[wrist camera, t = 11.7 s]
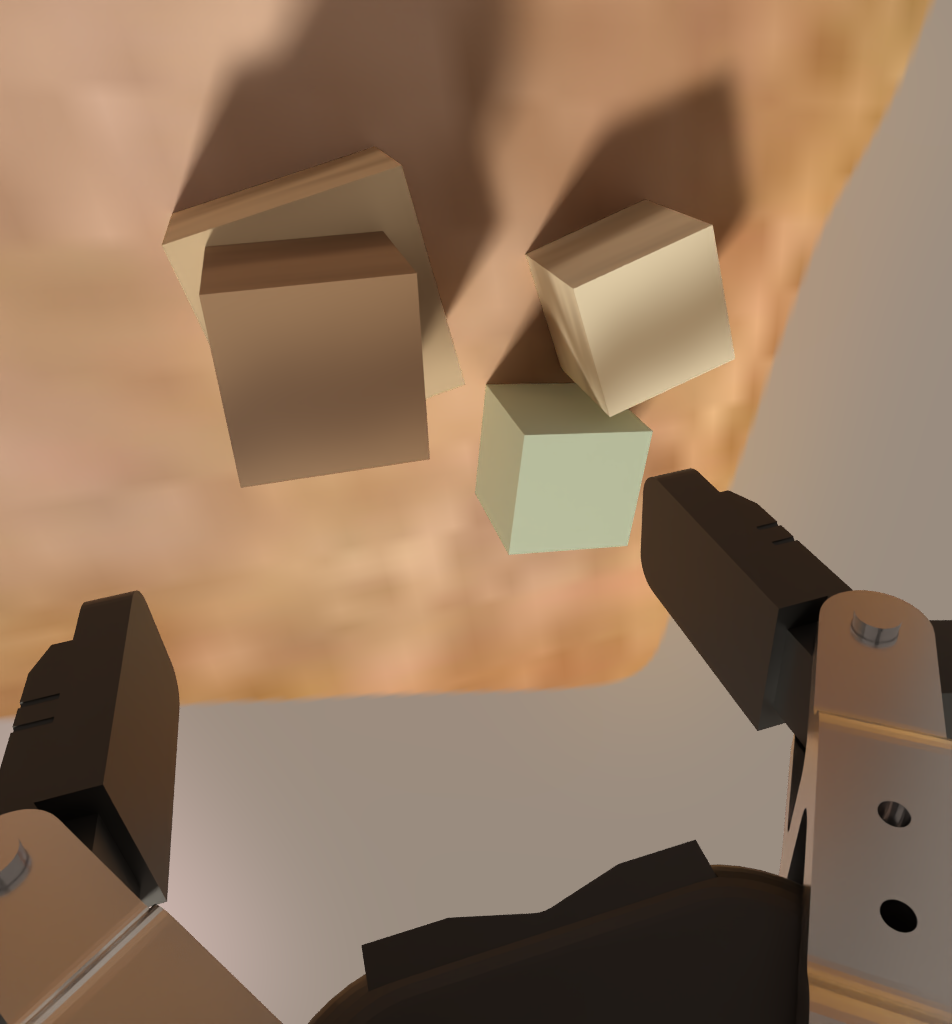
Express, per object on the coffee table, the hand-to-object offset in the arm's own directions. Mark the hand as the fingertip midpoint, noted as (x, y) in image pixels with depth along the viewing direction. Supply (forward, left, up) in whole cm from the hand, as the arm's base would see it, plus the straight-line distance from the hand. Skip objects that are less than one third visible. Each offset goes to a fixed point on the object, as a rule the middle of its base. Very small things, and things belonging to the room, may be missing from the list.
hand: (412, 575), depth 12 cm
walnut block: (0, 0, -14) cm, 14 cm away
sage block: (+8, +8, -18) cm, 22 cm away
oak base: (0, 0, -19) cm, 19 cm away
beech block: (+2, +11, -18) cm, 22 cm away
